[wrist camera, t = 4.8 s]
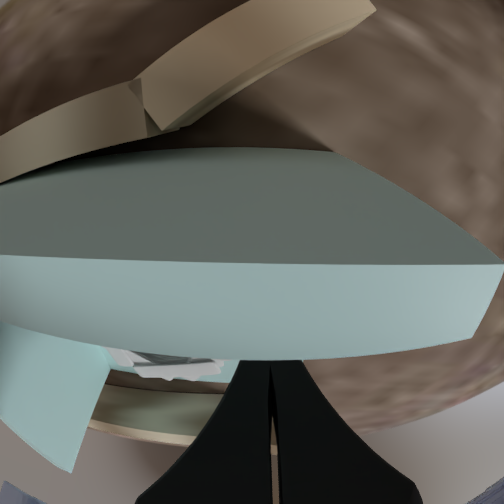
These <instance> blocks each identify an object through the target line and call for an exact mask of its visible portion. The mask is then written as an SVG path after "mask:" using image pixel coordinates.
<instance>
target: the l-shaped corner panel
mask: <svg viewBox="0 0 504 504" xmlns="http://www.w3.org/2000/svg"><path fill="white" fill-rule="evenodd" d="M503 272H504V262H503V261H502V260H501V259H500V258H499V257H497V256H496V255H495V254H494V253H493V252H491V251H490V250H489V249H488V248H487V247H485V246H484V245H483V244H482V243H480V242H479V241H478V240H477V239H475V238H474V237H473V236H471V235H470V234H469V233H467V232H466V231H465V230H463V229H462V228H461V227H459V226H458V225H457V224H455V223H454V222H453V221H451V220H450V219H448V218H447V217H445V216H444V215H443V214H441V213H440V212H438V211H437V210H435V209H434V208H432V207H431V206H429V205H428V204H426V203H425V202H423V201H421V200H420V199H418V198H417V197H415V196H414V195H412V194H410V193H409V192H407V191H405V190H404V189H402V188H400V187H399V186H397V185H395V184H394V183H392V182H390V181H389V180H387V179H385V178H383V177H382V176H380V175H378V174H376V173H374V172H373V171H371V170H369V169H367V168H365V167H363V166H361V165H359V164H358V163H356V162H354V161H352V160H350V159H348V158H346V157H344V156H342V155H340V154H338V153H336V152H327V151H316V150H302V149H285V148H259V147H208V148H181V149H164V150H151V151H140V152H130V153H121V154H112V155H105V156H97V157H90V158H84V159H78V160H72V161H66V162H61V163H56V164H51V165H46V166H42V167H39V168H36V169H34V170H31V171H28V172H26V173H23V174H21V175H18V176H16V177H13V178H11V179H8V180H6V181H4V182H1V183H0V419H1V420H2V421H3V422H4V423H5V424H6V425H7V426H8V427H9V428H10V429H11V430H12V431H13V432H15V433H16V434H17V435H18V436H19V437H20V438H21V439H22V440H24V441H25V442H26V443H27V444H28V445H30V446H31V447H32V448H33V449H34V450H36V451H37V452H38V453H39V454H41V455H42V456H43V457H45V458H46V459H47V460H49V461H50V462H51V463H53V464H54V465H55V466H57V467H58V468H60V469H62V470H65V471H67V472H69V473H72V470H73V467H74V464H75V461H76V458H77V455H78V452H79V449H80V446H81V443H82V440H83V437H84V434H85V432H86V429H87V426H88V424H89V421H90V418H91V416H92V413H93V410H94V408H95V405H96V403H97V400H98V398H99V395H100V393H101V391H102V388H103V386H104V383H105V381H106V379H107V376H108V374H109V372H110V369H114V370H119V371H125V372H131V373H137V374H139V375H140V376H141V377H143V378H163V379H165V380H168V381H171V380H172V379H173V378H174V379H184V380H190V381H208V382H225V383H230V381H231V379H232V377H233V375H234V373H235V371H236V368H237V366H238V363H239V361H240V360H302V362H303V360H308V359H327V358H342V357H354V356H365V355H374V354H383V353H391V352H398V351H405V350H412V349H418V348H424V347H430V346H435V345H440V344H446V343H450V342H455V341H460V340H464V339H469V338H472V336H473V335H474V333H475V331H476V329H477V327H478V326H479V324H480V322H481V320H482V318H483V316H484V314H485V312H486V310H487V308H488V306H489V304H490V302H491V300H492V298H493V295H494V293H495V291H496V289H497V287H498V284H499V282H500V279H501V277H502V275H503Z"/></svg>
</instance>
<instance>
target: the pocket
mask: <svg viewBox="0 0 504 504" xmlns="http://www.w3.org/2000/svg"><path fill="white" fill-rule="evenodd" d="M375 11H376V8H375V7H374V6H373V4H372V3H371V2H370V1H369V0H250V1H248V2H246V3H244V4H242V5H240V6H238V7H236V8H235V9H233V10H231V11H229V12H227V13H226V14H224V15H222V16H220V17H219V18H217V19H215V20H214V21H212V22H210V23H209V24H207V25H205V26H204V27H202V28H201V29H199V30H198V31H196V32H195V33H193V34H192V35H190V36H189V37H187V38H186V39H184V40H183V41H181V42H180V43H179V44H177V45H176V46H174V47H173V48H172V49H170V50H169V51H168V52H166V53H165V54H164V55H162V56H161V57H160V58H159V59H157V60H156V61H155V62H154V63H152V64H151V65H150V66H149V67H147V68H146V69H145V70H144V71H143V72H142V73H140V74H139V75H138V76H137V77H136V78H135V79H133V80H130V81H127V82H123V83H120V84H117V85H113V86H110V87H107V88H104V89H101V90H98V91H95V92H93V93H90V94H87V95H85V96H82V97H79V98H77V99H74V100H72V101H69V102H67V103H64V104H62V105H60V106H58V107H55V108H53V109H51V110H49V111H47V112H44V113H42V114H40V115H38V116H36V117H34V118H32V119H30V120H28V121H26V122H25V123H23V124H21V125H19V126H17V127H15V128H14V129H12V130H10V131H8V132H7V133H5V134H3V135H2V136H0V183H1V182H4V181H6V180H8V179H11V178H13V177H16V176H18V175H21V174H23V173H26V172H28V171H31V170H34V169H36V168H39V167H42V166H45V165H48V164H51V163H53V162H56V161H60V160H63V159H66V158H69V157H72V156H76V155H79V154H82V153H86V152H89V151H93V150H97V149H101V148H104V147H108V146H112V145H117V144H121V143H125V142H130V141H134V140H139V139H144V138H149V137H152V136H156V135H160V134H164V133H168V132H173V131H177V130H179V127H184V126H189V125H191V124H193V123H194V122H195V121H197V120H198V119H199V118H201V117H202V116H204V115H205V114H206V113H208V112H209V111H211V110H212V109H213V108H215V107H216V106H218V105H219V104H221V103H222V102H224V101H225V100H227V99H228V98H230V97H231V96H233V95H234V94H236V93H237V92H239V91H240V90H242V89H243V88H245V87H247V86H248V85H250V84H252V83H253V82H255V81H256V80H258V79H260V78H261V77H263V76H265V75H267V74H268V73H270V72H272V71H274V70H275V69H277V68H279V67H281V66H282V65H284V64H286V63H288V62H290V61H292V60H294V59H296V58H298V57H299V56H301V55H303V54H305V53H307V52H309V51H311V50H314V49H316V48H318V47H320V46H322V45H324V44H326V43H328V42H331V41H333V40H335V39H338V38H340V37H342V36H343V35H344V34H346V33H347V32H348V31H350V30H351V29H352V28H353V27H355V26H356V25H357V24H359V23H360V22H361V21H363V20H364V19H365V18H367V17H368V16H370V15H371V14H372V13H374V12H375ZM223 395H224V394H195V393H176V392H163V391H152V390H143V389H134V388H126V387H119V386H113V385H106V384H104V386H103V388H102V391H101V393H100V395H99V398H98V400H97V403H96V405H95V408H94V410H93V413H92V416H91V418H90V421H89V424H88V427H92V428H96V429H99V430H103V431H107V432H112V433H116V434H121V435H125V436H130V437H135V438H141V439H147V440H153V441H160V442H167V443H176V444H185V445H191V443H192V442H193V441H194V440H195V438H196V437H197V436H198V434H199V433H200V431H201V430H202V429H203V427H204V426H205V425H206V423H207V422H208V420H209V419H210V417H211V415H212V414H213V412H214V411H215V409H216V407H217V406H218V404H219V402H220V401H221V399H222V397H223ZM271 454H275V455H277V444H276V436H275V429H274V423H273V416H272V433H271Z"/></svg>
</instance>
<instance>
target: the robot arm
mask: <svg viewBox="0 0 504 504" xmlns="http://www.w3.org/2000/svg"><path fill="white" fill-rule="evenodd" d="M272 416H273V423H274V429H275V436H276V444H277V456H278V480H279V504H423V501H422V498H421V496H420V494H419V491H418V489H417V487H416V485H415V483H414V482H413V481H411V480H410V479H409V478H407V477H406V476H404V475H403V474H402V473H400V472H399V471H398V470H396V469H395V468H394V467H392V466H391V465H390V464H388V463H387V462H386V461H385V460H384V459H382V458H381V457H380V456H379V455H378V454H376V453H375V452H374V451H373V450H372V449H371V448H370V447H369V446H368V445H367V444H366V443H365V442H364V441H363V440H362V439H361V438H360V437H359V436H358V435H357V434H356V433H355V432H354V431H353V430H352V429H351V428H350V427H349V426H348V425H347V424H346V423H345V421H344V420H343V419H342V418H341V417H340V416H339V414H338V413H337V412H336V411H335V409H334V408H333V407H332V406H331V404H330V403H329V402H328V400H327V399H326V398H325V396H324V395H323V394H322V392H321V391H320V389H319V388H318V386H317V385H316V383H315V382H314V380H313V379H312V377H311V375H310V374H309V372H308V370H307V369H306V367H305V365H304V364H303V362H302V360H240V361H239V363H238V366H237V368H236V371H235V373H234V375H233V377H232V379H231V381H230V383H229V385H228V387H227V389H226V391H225V393H224V395H223V397H222V399H221V401H220V402H219V404H218V406H217V407H216V409H215V411H214V412H213V414H212V415H211V417H210V419H209V420H208V422H207V423H206V425H205V426H204V427H203V429H202V430H201V431H200V433H199V434H198V436H197V437H196V438H195V440H194V441H193V442H192V443H191V445H190V446H189V447H188V448H187V450H186V451H185V452H184V453H183V454H182V455H181V456H180V458H179V459H178V460H177V461H176V462H175V463H174V464H173V465H172V466H171V467H170V468H169V470H168V471H167V472H165V473H164V474H163V476H161V477H160V478H159V479H158V480H157V481H156V482H155V483H154V484H152V485H151V486H150V487H149V488H148V489H147V490H146V491H144V492H143V493H142V494H141V495H140V496H139V497H138V498H137V500H136V502H135V504H273V498H272V470H271V433H272ZM0 504H46V503H45V502H43V501H41V500H39V499H37V498H35V497H32V496H30V495H28V494H27V493H25V492H23V491H21V490H20V489H18V488H17V487H15V486H13V485H12V484H10V483H9V482H7V481H4V482H3V486H2V489H1V492H0ZM466 504H504V477H503V478H501V479H500V480H499V481H498V482H496V483H495V484H493V485H492V486H490V487H489V488H487V489H486V490H485V492H483V493H482V494H480V495H479V496H477V497H476V498H474V499H472V500H471V501H469V502H467V503H466Z"/></svg>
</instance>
